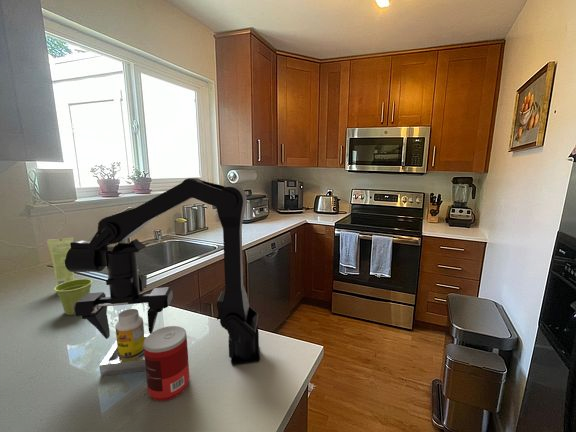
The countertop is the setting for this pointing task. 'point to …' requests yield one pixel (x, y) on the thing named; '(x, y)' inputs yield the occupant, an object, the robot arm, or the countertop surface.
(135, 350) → the supplement bottle
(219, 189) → the robot arm
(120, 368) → the square metal tray
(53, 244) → the tube
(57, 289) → the plant pot
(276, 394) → the countertop surface
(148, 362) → the canned food
